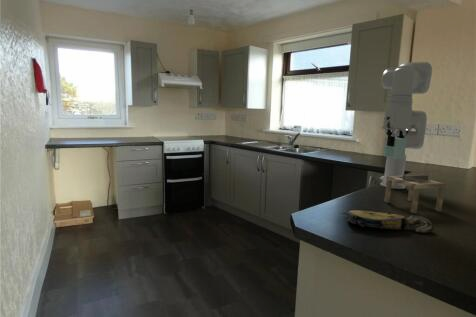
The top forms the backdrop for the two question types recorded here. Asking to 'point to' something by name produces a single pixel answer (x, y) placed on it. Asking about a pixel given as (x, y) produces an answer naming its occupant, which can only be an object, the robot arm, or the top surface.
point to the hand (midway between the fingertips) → (395, 145)
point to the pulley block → (388, 220)
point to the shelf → (415, 188)
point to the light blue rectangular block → (399, 148)
